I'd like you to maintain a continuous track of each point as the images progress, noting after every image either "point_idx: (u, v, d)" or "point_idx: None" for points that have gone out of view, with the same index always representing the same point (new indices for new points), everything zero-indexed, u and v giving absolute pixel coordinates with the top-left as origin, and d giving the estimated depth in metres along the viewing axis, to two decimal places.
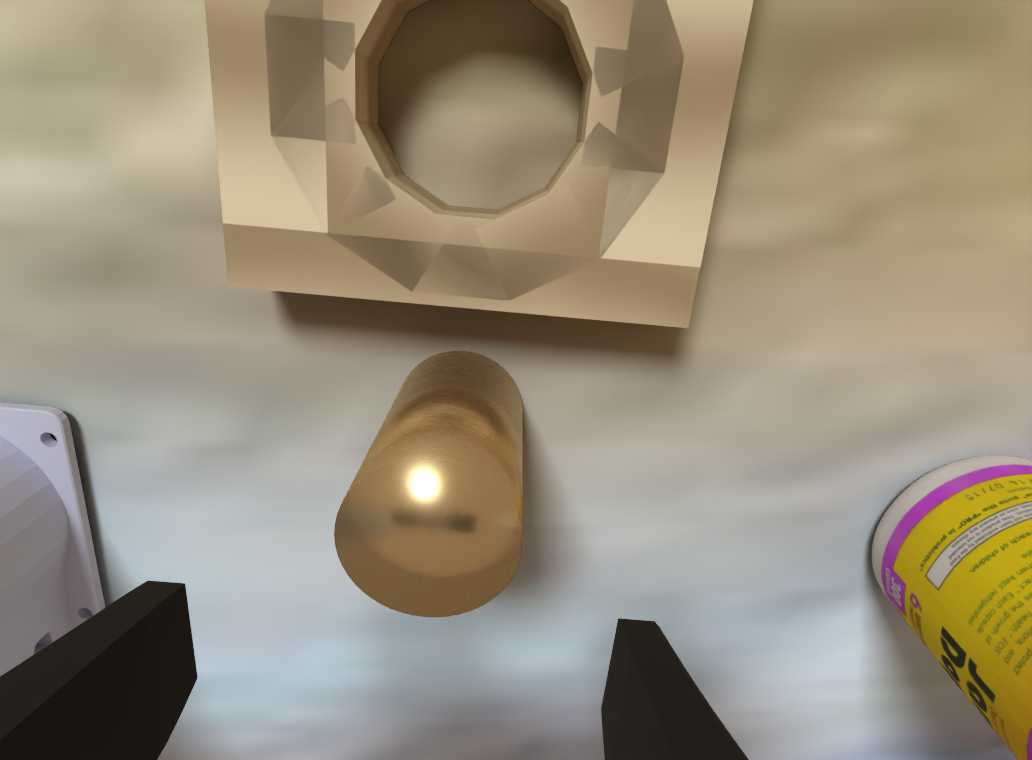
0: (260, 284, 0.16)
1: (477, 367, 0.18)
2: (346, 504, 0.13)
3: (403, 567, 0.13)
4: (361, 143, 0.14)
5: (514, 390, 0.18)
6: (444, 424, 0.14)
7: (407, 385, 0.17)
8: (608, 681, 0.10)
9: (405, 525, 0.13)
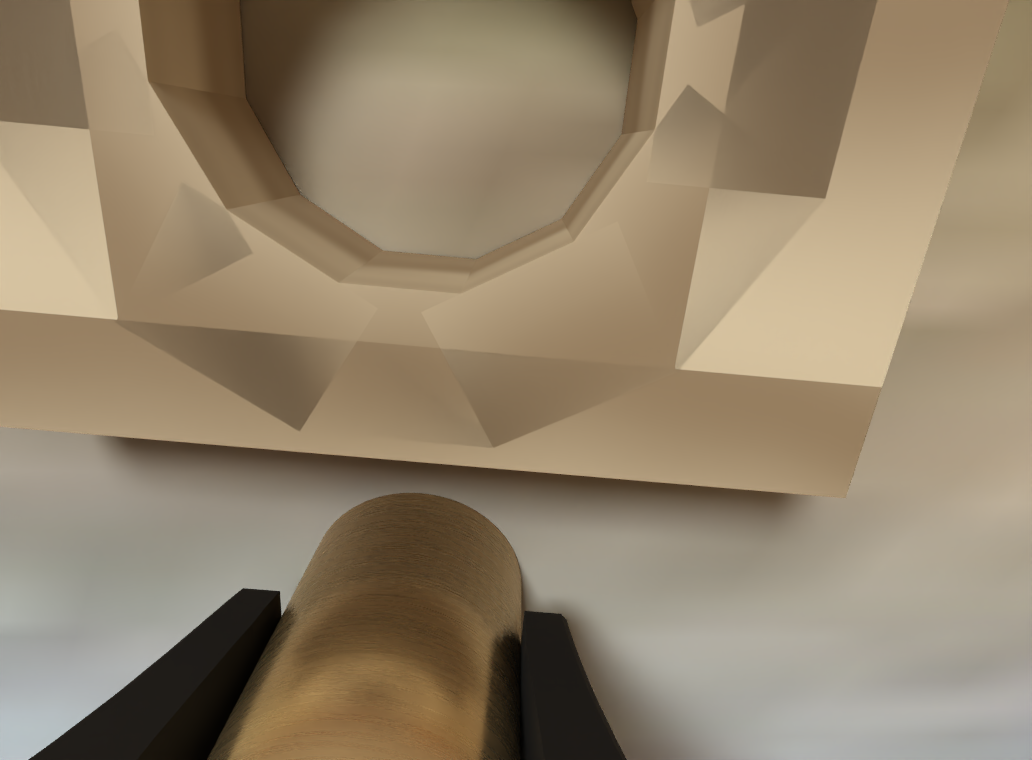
0: None
1: (440, 537, 0.10)
2: None
3: None
4: (167, 134, 0.07)
5: (507, 565, 0.11)
6: None
7: (311, 576, 0.10)
8: None
9: None
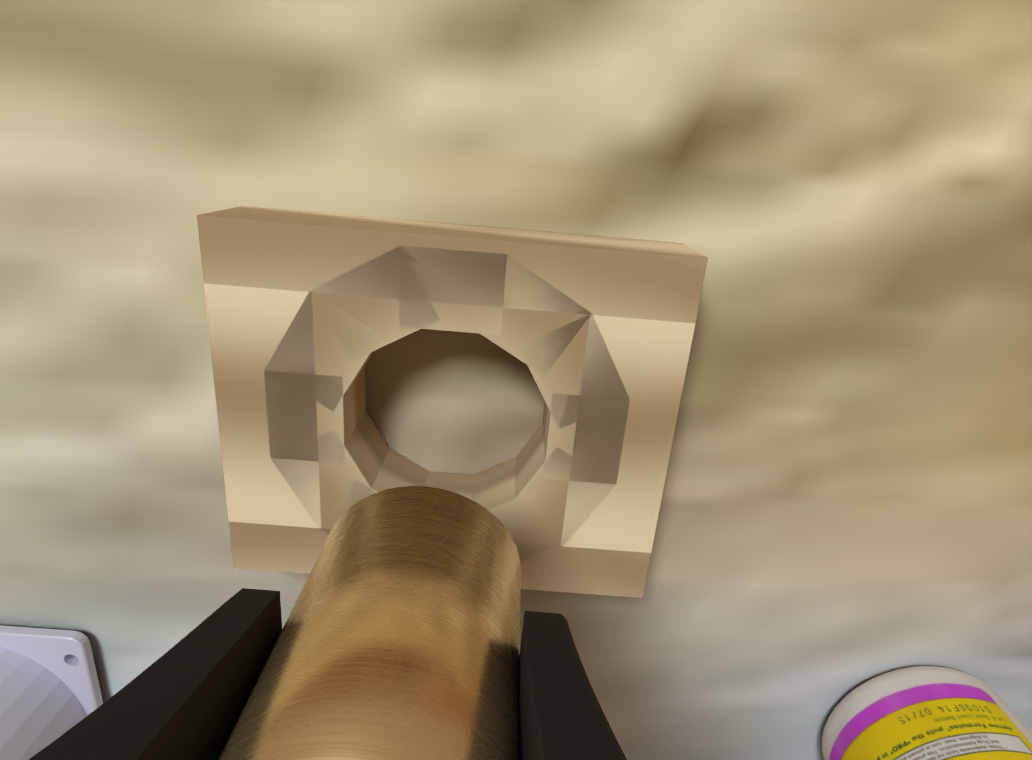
0: (262, 566, 0.18)
1: (443, 529, 0.10)
2: None
3: None
4: (349, 463, 0.16)
5: (506, 554, 0.11)
6: (354, 752, 0.07)
7: (323, 565, 0.10)
8: None
9: None
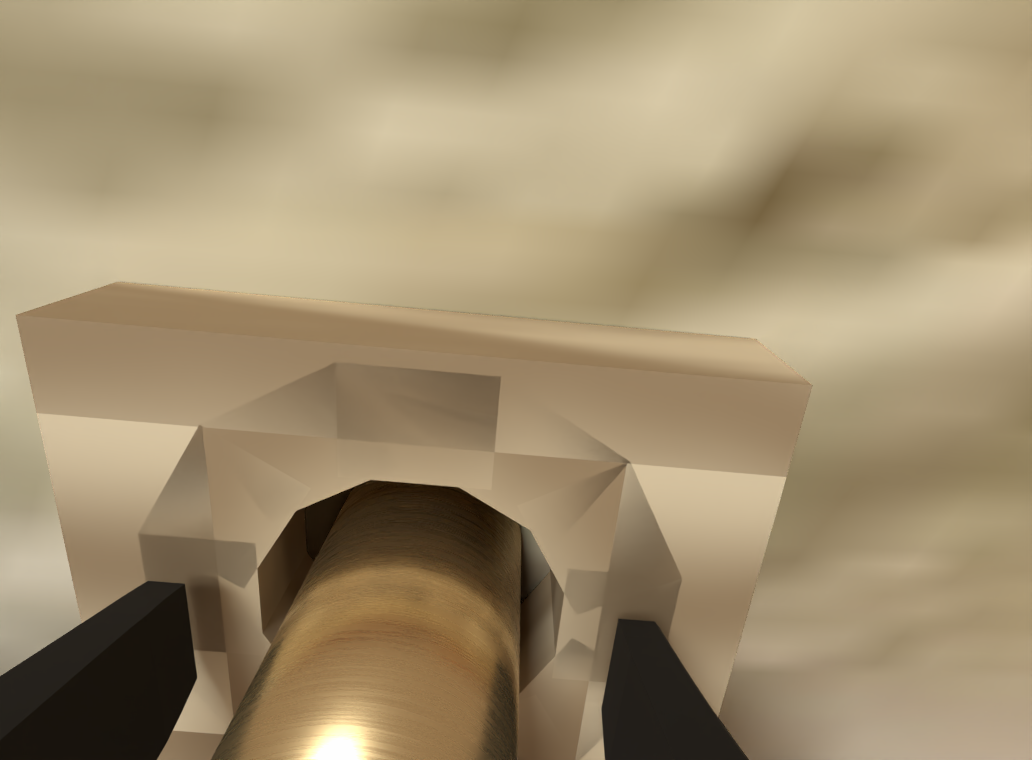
0: None
1: (450, 493, 0.11)
2: None
3: None
4: None
5: (508, 520, 0.12)
6: (375, 662, 0.08)
7: (340, 525, 0.11)
8: (608, 681, 0.10)
9: None
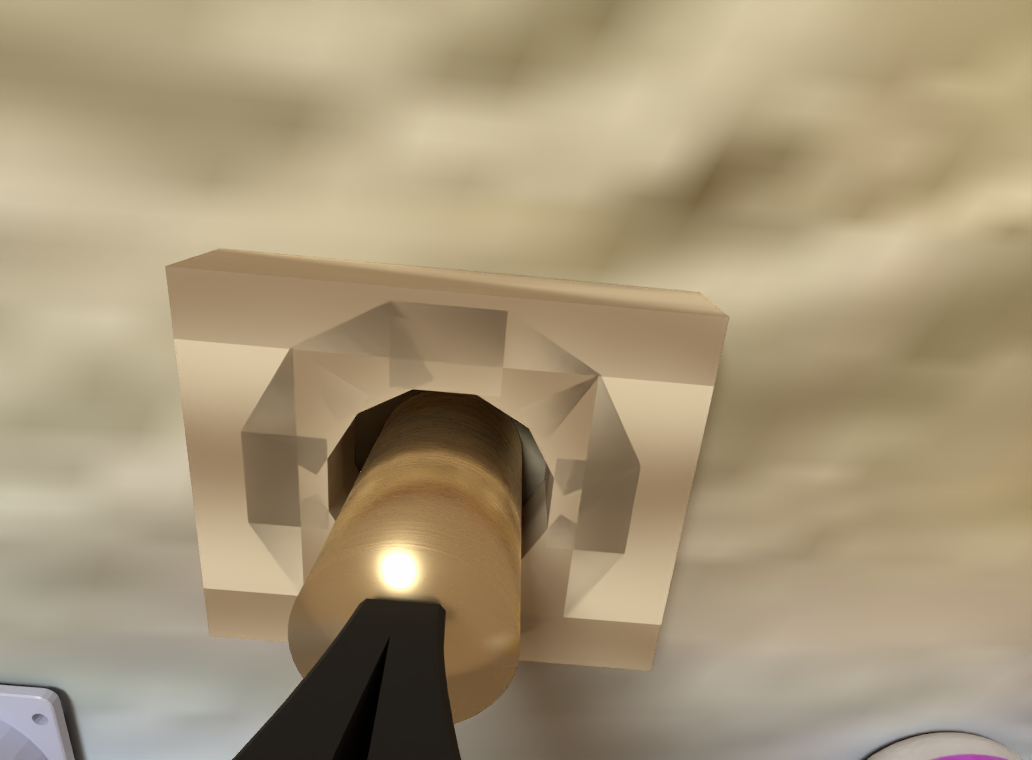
0: (240, 634, 0.16)
1: (468, 409, 0.15)
2: (301, 601, 0.10)
3: None
4: None
5: (512, 433, 0.16)
6: (425, 493, 0.11)
7: (386, 431, 0.15)
8: None
9: None
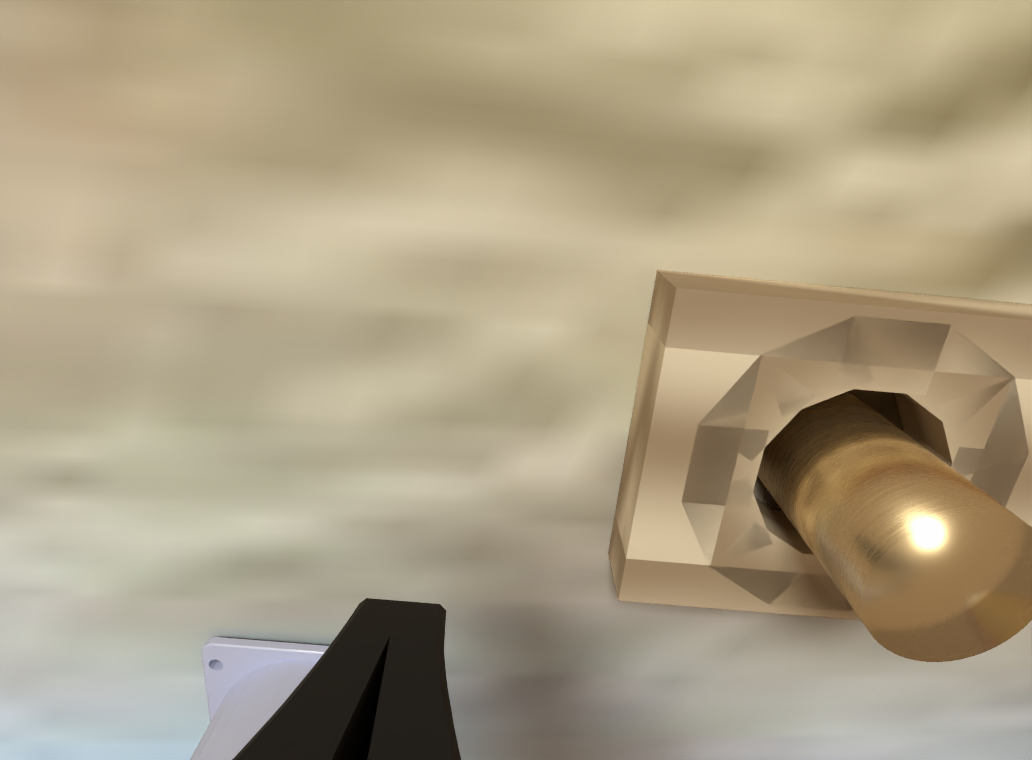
0: (644, 598, 0.19)
1: (863, 405, 0.18)
2: (888, 555, 0.13)
3: (923, 615, 0.13)
4: (754, 507, 0.18)
5: None
6: (939, 472, 0.14)
7: (801, 424, 0.18)
8: None
9: (939, 575, 0.13)
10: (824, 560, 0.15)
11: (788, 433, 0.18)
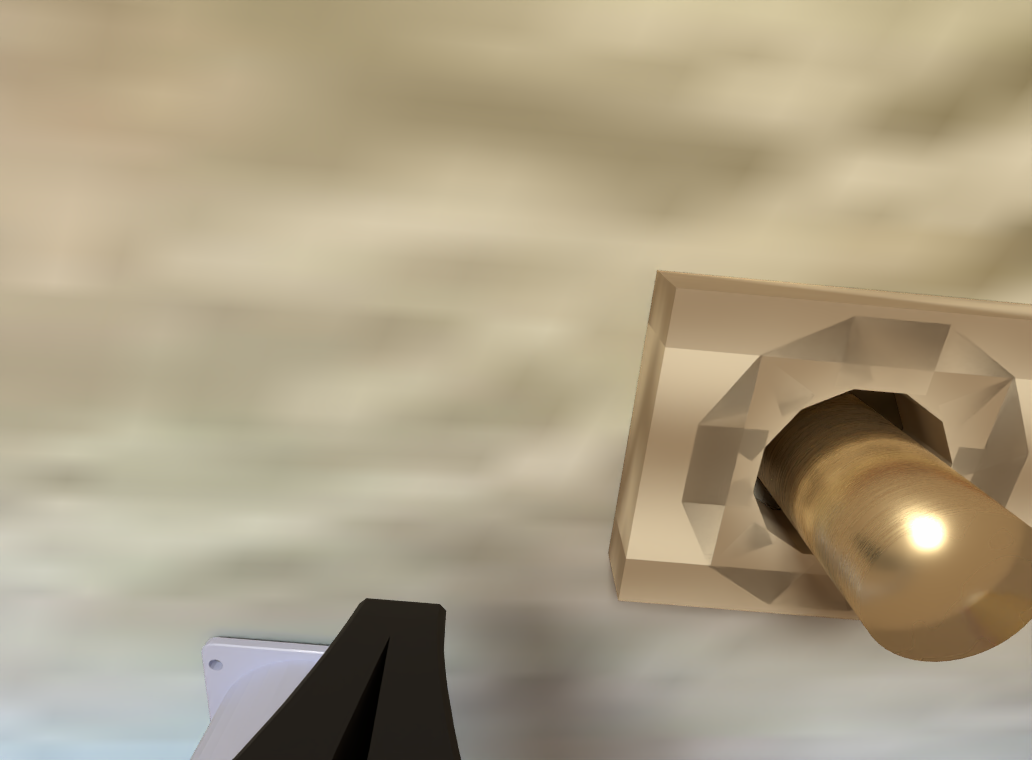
0: (644, 598, 0.19)
1: (863, 405, 0.18)
2: (886, 554, 0.13)
3: (922, 614, 0.13)
4: (754, 507, 0.18)
5: None
6: (938, 471, 0.14)
7: (801, 424, 0.18)
8: None
9: (937, 574, 0.13)
10: (823, 560, 0.15)
11: (788, 433, 0.18)
